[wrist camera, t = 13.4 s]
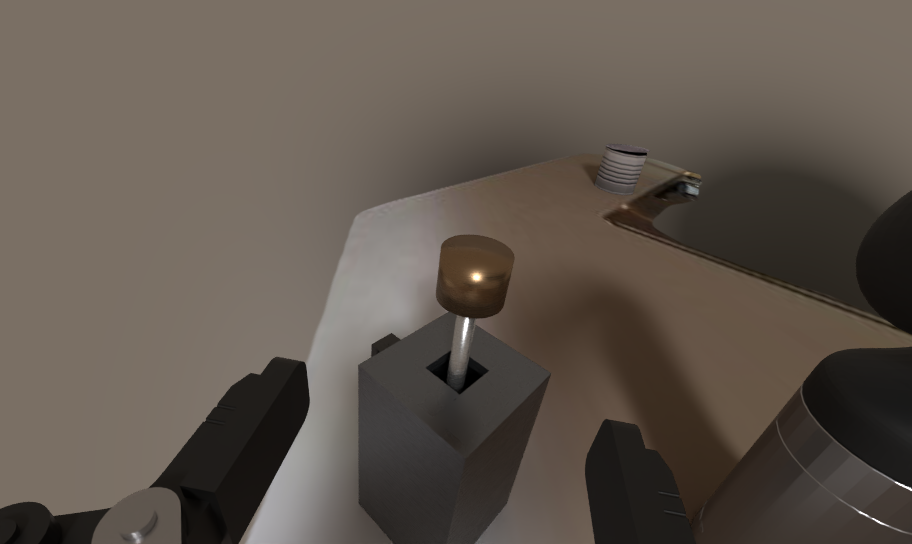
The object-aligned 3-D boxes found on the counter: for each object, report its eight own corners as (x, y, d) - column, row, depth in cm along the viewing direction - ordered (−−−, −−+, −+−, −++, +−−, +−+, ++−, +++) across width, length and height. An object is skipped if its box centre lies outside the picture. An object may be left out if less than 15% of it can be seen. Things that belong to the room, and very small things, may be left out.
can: (606, 194, 112) (620, 150, 106) (586, 179, 121) (599, 139, 115) (642, 195, 114) (658, 153, 108) (620, 181, 124) (634, 141, 118)
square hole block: (506, 503, 36) (551, 373, 27) (435, 591, 30) (465, 458, 21) (412, 419, 42) (425, 292, 34) (337, 478, 36) (330, 340, 27)
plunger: (496, 472, 33) (560, 258, 23) (441, 535, 29) (489, 303, 18) (438, 423, 37) (469, 215, 26) (380, 471, 32) (390, 244, 21)
